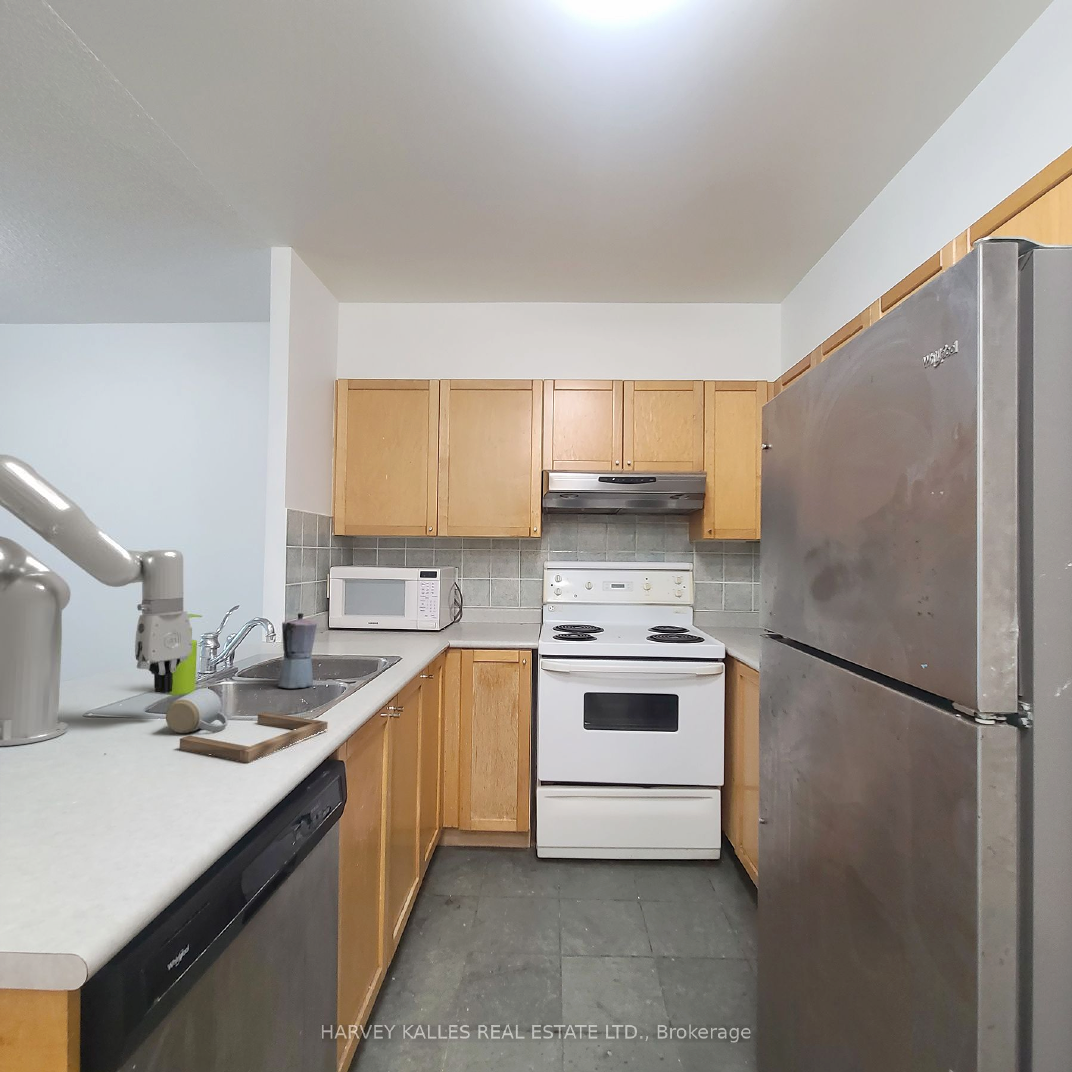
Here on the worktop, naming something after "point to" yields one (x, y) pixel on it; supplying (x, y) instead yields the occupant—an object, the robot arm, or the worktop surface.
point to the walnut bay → (261, 749)
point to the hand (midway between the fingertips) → (163, 691)
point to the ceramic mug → (196, 712)
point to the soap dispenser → (186, 671)
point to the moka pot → (297, 653)
